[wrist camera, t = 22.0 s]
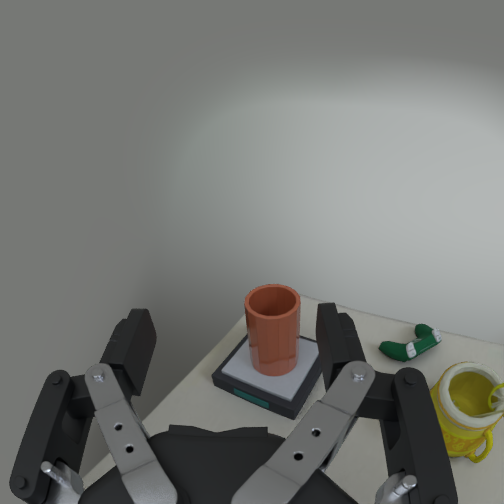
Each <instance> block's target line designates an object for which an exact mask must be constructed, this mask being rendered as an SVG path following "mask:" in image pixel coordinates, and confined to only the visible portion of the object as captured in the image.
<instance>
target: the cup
mask: <svg viewBox="0 0 504 504" xmlns="http://www.w3.org/2000/svg"><path fill="white" fill-rule="evenodd" d="M244 305H245V314H246V323H247V332H248V341H249V350H250V359H251V363H252V366H253V367H254V369H255V370H256V371H258V372H259V373H261V374H263V375H266V376H273V377H275V376H282V375H285V374H287V373H289V372H290V371H292V370H293V369H294V368H295V366H296V365H297V362H298V356H299V334H300V306H301V302H300V296H299V295H298V293H297V292H296V291H295V290H294V289H292V288H290V287H288V286H284V285H279V284H268V285H263V286H260V287H257V288H255V289H253V290H252V291H250V292H249V294H248V295H247V296H246V298H245V304H244Z"/></svg>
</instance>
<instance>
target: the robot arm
mask: <svg viewBox="0 0 504 504" xmlns="http://www.w3.org/2000/svg"><path fill="white" fill-rule="evenodd" d="M316 340H317V346H318V351H319V356H320V362H321V367H322V373H323V378H324V384H325V390H326V394H325V395H324V397H323V398H322V399H321V400H317V401H316V402H315V403H314V404H313V405H312V407H311V408H310V409H309V411H308V412H307V413H306V415H305V416H304V417H303V419H302V420H301V421H300V422H299V424H298V425H297V426H296V428H295V429H294V430H293V431H292V433H291V434H290V435H289V436H288V438H287V439H285V438H283V437H280V436H278V435H274V434H270V433H268V428H267V427H242V428H238V429H233V430H228V431H223V432H212V431H208V430H204V429H201V428H197V427H194V426H182V425H169V430H168V431H166V432H162V433H159V434H156V435H154V436H152V437H150V435H149V434H148V432H147V431H146V429H145V427H144V425H143V424H142V422H141V420H140V418H139V416H138V414H137V412H136V411H135V409H134V407H133V405H132V403H131V401H130V400H131V397H132V395H135V396H140V394H141V391H142V388H143V384H144V381H145V377H146V374H147V371H148V367H149V364H150V361H151V358H152V355H153V351H154V348H155V344H156V332H155V328H154V325H153V322H152V319H151V316H150V313H149V311H148V310H147V309H132V310H131V311H130V313H129V316H128V318H127V319H122V320H121V321H120V322H119V323H118V324H117V325H116V327H115V329H114V331H113V335H112V336H111V338H110V341H109V342H108V344H107V347H106V349H105V351H104V353H103V356H102V358H101V360H100V362H99V364H95V365H93V366H91V367H90V368H89V369H88V370H87V372H86V374H84V375H79V376H73V377H70V375H69V374H68V373H67V372H66V371H64V370H57V371H54V372H52V373H51V374H50V375H49V376H48V377H47V379H46V381H45V383H44V386H43V388H42V390H41V393H40V395H39V397H38V400H37V402H36V405H35V407H34V410H33V413H32V415H31V417H30V420H29V423H28V426H27V428H26V431H25V434H24V437H23V439H22V442H21V445H20V448H19V451H18V454H17V457H16V461H15V464H14V467H13V470H12V474H11V477H10V482H9V483H10V489H11V491H12V493H13V494H14V495H15V496H16V497H18V498H20V499H22V500H23V501H25V502H26V503H28V504H358V503H357V502H356V501H355V500H354V499H353V498H352V497H350V496H349V495H348V494H347V493H346V492H345V491H343V490H342V489H341V488H340V487H339V486H338V485H337V484H336V483H334V482H333V481H332V480H331V479H330V478H329V477H328V476H327V475H326V474H325V473H324V472H325V471H326V469H327V468H328V467H329V465H330V464H331V462H332V461H333V459H334V458H335V456H336V454H337V453H338V451H339V449H340V447H341V446H342V444H343V442H344V441H345V439H346V438H347V436H348V435H349V433H350V431H351V430H352V428H353V426H354V425H355V423H356V421H357V420H358V418H359V417H364V418H372V419H379V422H380V427H381V433H382V438H383V444H384V450H385V456H386V463H387V469H388V476H389V478H388V479H387V480H386V481H385V482H384V483H383V484H382V485H381V486H380V488H379V489H378V490H377V492H376V497H375V504H458V497H457V492H456V487H455V482H454V478H453V473H452V469H451V465H450V461H449V457H448V453H447V449H446V445H445V441H444V438H443V434H442V430H441V427H440V424H439V420H438V417H437V414H436V410H435V407H434V404H433V401H432V398H431V395H430V392H429V388H428V386H427V383H426V380H425V377H424V375H423V374H422V373H421V372H420V371H419V370H417V369H415V368H410V367H406V368H402V369H400V370H399V371H398V372H397V373H396V374H387V373H381V372H377V371H375V370H374V369H373V367H372V366H371V365H369V364H368V363H367V362H366V359H365V356H364V353H363V350H362V346H361V343H360V340H359V337H358V334H357V331H356V329H355V325H354V322H353V320H352V319H351V318H350V316H349V315H348V314H347V313H338V312H337V309H336V305H335V303H321V304H318V309H317V321H316ZM93 417H96V420H97V422H98V425H99V427H100V430H101V432H102V434H103V437H104V439H105V441H106V444H107V446H108V448H109V450H110V453H111V455H112V457H113V459H114V461H115V463H116V466H115V467H113V468H112V469H111V470H110V471H108V472H107V473H106V474H105V475H103V476H102V477H101V478H100V479H98V480H97V481H96V482H95V483H93V484H92V485H91V486H89V487H88V488H87V489H86V490H85V491H84V488H83V481H82V478H81V477H80V475H79V469H80V465H81V461H82V457H83V453H84V449H85V445H86V441H87V437H88V433H89V430H90V426H91V422H92V419H93Z"/></svg>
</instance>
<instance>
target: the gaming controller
mask: <svg viewBox="0 0 504 504" xmlns="http://www.w3.org/2000/svg"><path fill="white" fill-rule="evenodd" d="M415 333H416V335H417V336H418V338H417V339H415V340H413V341H411V342H409V343H407V344H400V343H396V342H391V341H385V342H382V343H381V345H380V347H379V349H380V350H381V351H382V352H383V353H384V354H386V355H387V356H389V357H391V358H393V359H396V360H399V361H403V362H406V361H407V360H408V361H409V360H411V359H413V358H415V357H417V356H418V355H420V354H422V353H423V352H425V351H427V350H428V349H430V348H432V347H433V346H435V345H437V344H438V343H440V342H441V334H440V332H439V330H438V329H437V328H435V329H432V328H430V327H429V326H427V325H425V324H418V325H416V327H415Z"/></svg>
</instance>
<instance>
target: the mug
mask: <svg viewBox="0 0 504 504" xmlns="http://www.w3.org/2000/svg"><path fill="white" fill-rule="evenodd" d="M430 395H431V398H432V401H433V404H434V407H435V410H436V414H437V417H438V420H439V424H440V427H441V430H442V434H443V438H444V441H445V445H446V449H447V453H448V456H450V457H459V456H464V457H465V458H467V457H469V459H470V460H471V461H472V462H474V463H478V462H480V461H482V460H483V459H484V458H486V456H487V455H488V453H489V452H490V450H491V449H492V446H493V436H492V432H491V431H492V430H493V428H494V427H495V425H496V424H497V422H498V421H499V420H500V419H501V417H502V416H504V383H503V382H502V379H501V378H500V377H499V376H498V375H497V374H496V373H495V372H494V370H492V369H490V368H489V367H487V366H485V365H483V364H479V363H475V362H461V363H458V364H455V365H452V366H451V367H449V368H448V369H447V370H446V371H445V372H444V373H443V375H442V376H441V378H440V380H439V381H438V382H437V383H436V384H435V386H434V387H433V388H432V389H431V390H430ZM485 440H486V448H485V450H484V451H483V453H482V454H481V455H479V456H478V457H477V456H476V455H475V454H474V452H475V451H476V449H477V448H478V447H479V446H480V445H481V444H482V443H483V442H484V441H485Z"/></svg>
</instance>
